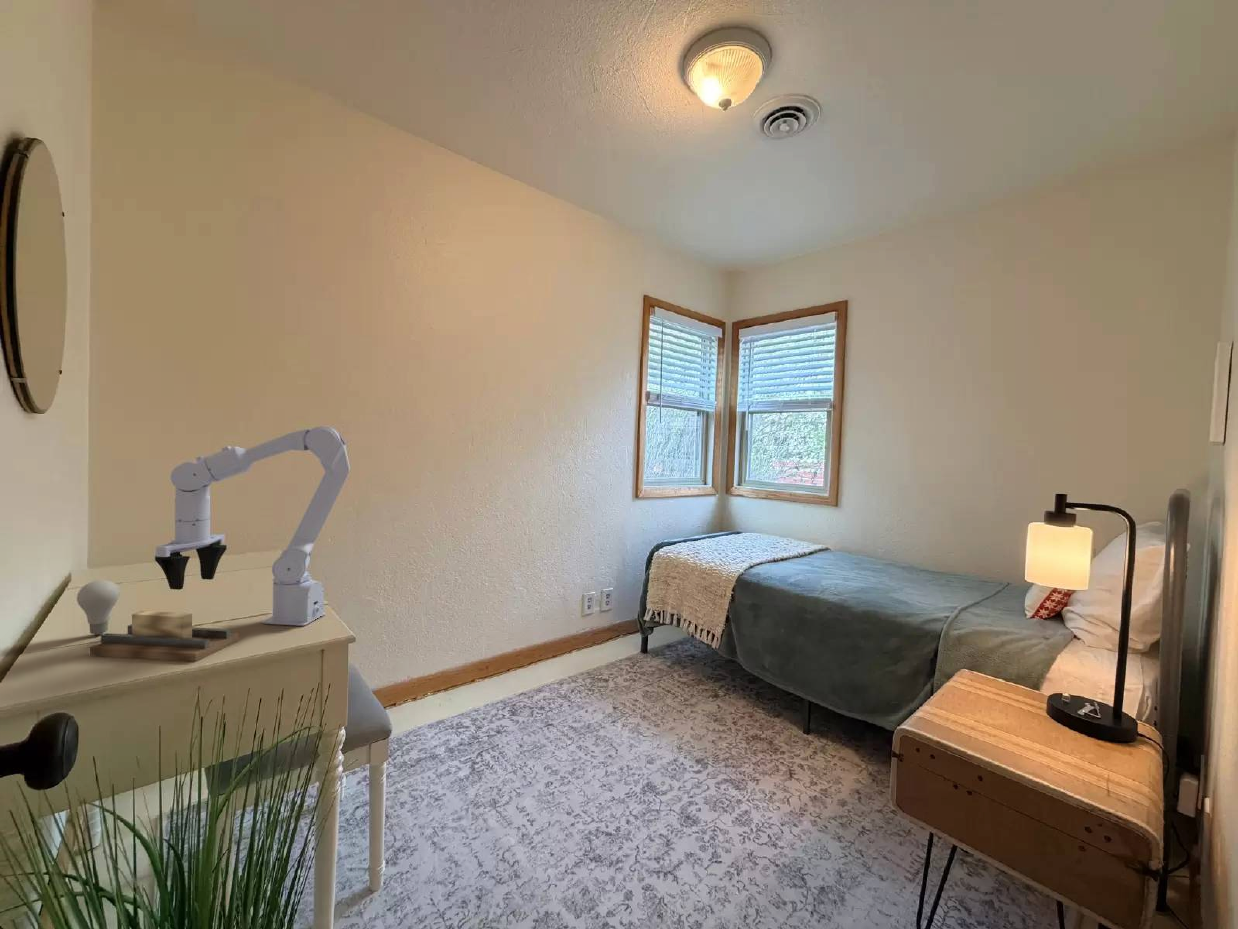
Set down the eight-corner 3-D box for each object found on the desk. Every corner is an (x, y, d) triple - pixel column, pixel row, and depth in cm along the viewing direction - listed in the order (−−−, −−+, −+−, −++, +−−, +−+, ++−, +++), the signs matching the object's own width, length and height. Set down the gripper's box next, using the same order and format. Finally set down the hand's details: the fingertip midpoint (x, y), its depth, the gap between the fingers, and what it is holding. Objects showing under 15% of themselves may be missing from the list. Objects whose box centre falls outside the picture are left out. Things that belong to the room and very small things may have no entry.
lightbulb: (92, 642, 100) (92, 586, 100) (68, 638, 102) (68, 583, 101) (128, 631, 106) (128, 578, 106) (104, 628, 108) (104, 575, 107)
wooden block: (192, 639, 100) (192, 613, 100) (182, 643, 98) (183, 617, 98) (142, 636, 100) (142, 610, 100) (131, 640, 98) (131, 614, 98)
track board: (238, 640, 104) (238, 625, 104) (195, 661, 94) (195, 645, 94) (142, 635, 105) (142, 620, 105) (89, 655, 95) (89, 639, 95)
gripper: (203, 513, 116) (203, 574, 116) (141, 523, 101) (141, 592, 102) (234, 515, 116) (233, 575, 116) (175, 525, 101) (175, 594, 102)
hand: (192, 583), depth 109 cm, fingers open, 7 cm apart
